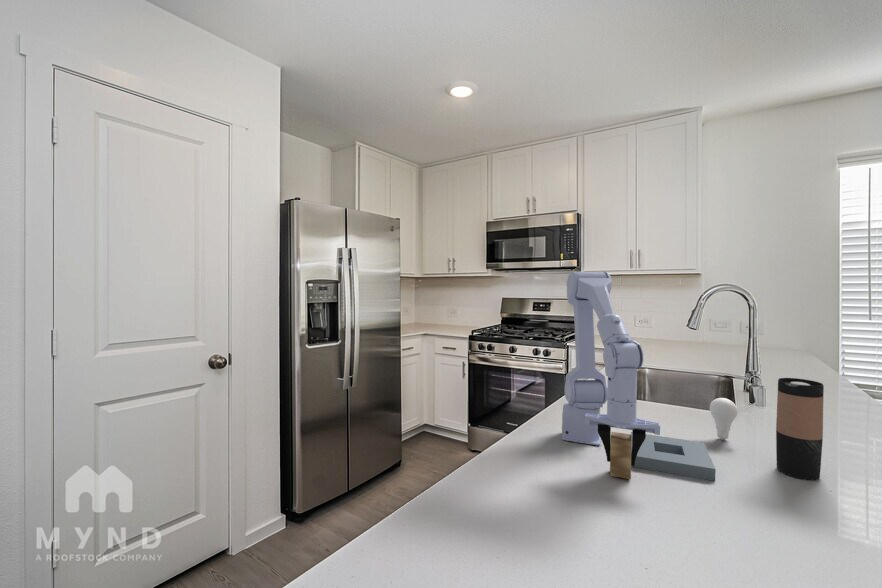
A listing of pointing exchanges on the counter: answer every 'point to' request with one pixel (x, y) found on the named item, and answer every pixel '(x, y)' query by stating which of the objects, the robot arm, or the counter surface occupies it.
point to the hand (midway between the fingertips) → (620, 462)
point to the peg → (620, 455)
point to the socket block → (675, 457)
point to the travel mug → (799, 428)
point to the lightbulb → (723, 415)
